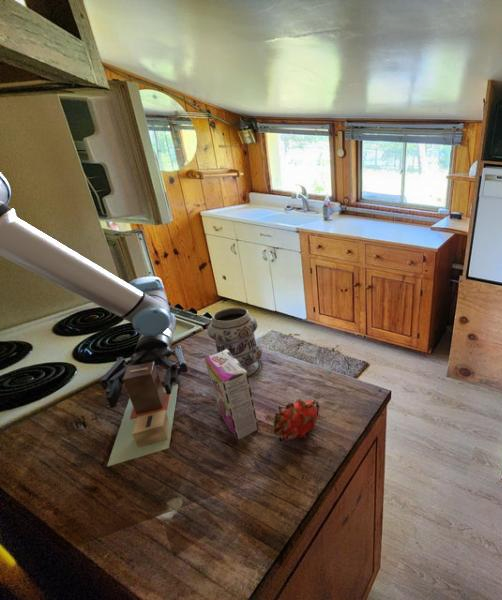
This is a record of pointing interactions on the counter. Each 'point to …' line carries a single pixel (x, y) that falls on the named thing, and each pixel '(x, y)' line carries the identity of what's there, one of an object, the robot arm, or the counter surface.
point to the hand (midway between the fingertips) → (140, 395)
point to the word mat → (125, 441)
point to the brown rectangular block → (144, 387)
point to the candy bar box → (232, 393)
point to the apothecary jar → (237, 337)
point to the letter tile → (151, 428)
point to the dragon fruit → (296, 419)
